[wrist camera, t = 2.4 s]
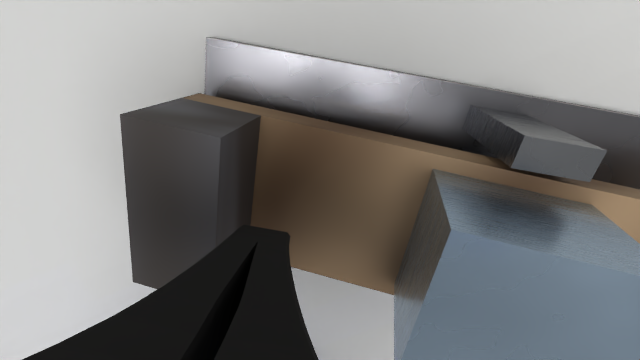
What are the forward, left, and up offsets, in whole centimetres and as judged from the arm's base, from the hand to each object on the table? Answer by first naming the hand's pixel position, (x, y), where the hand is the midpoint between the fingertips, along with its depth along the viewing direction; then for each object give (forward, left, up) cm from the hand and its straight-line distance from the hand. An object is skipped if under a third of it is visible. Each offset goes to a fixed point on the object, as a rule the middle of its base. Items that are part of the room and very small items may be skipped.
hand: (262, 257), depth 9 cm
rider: (0, -7, -3) cm, 8 cm away
